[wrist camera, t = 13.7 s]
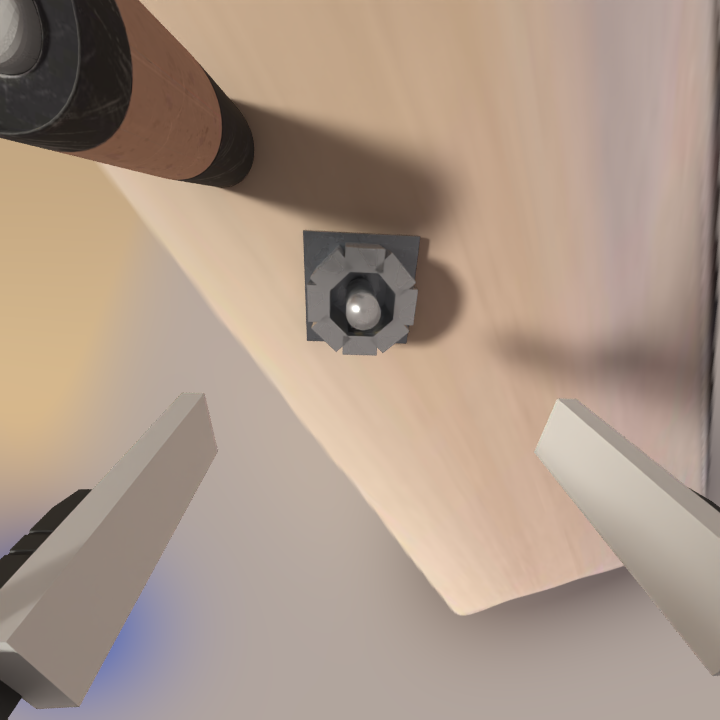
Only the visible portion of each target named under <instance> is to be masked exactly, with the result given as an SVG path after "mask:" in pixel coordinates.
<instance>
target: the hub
mask: <svg viewBox="0 0 720 720" xmlns="http://www.w3.org/2000/svg"><path fill="white" fill-rule="evenodd" d="M349 272H364V273H378V274H379V275H380V276H381V277H382V278H383V279H384V281H385V282H386V283H387V290H386V301H385V304H384V305H383V306H382V307H381V308H380V310H381V316H380V319H379V321H378V323H377V324H376V325H375V326H374V327H372V328H371V329H368V330H359V329H356V328H354V327H353V326H351V325H350V323H349V322H348V320H347V317H346V315H345V314H344V313H343V312H342V311H341V310H340V309H339V308H338V307H337V306H336V305H335V303H334V302H333V301H332V289H333V288H334V287H335V286H336V285H337V284H338V283H339V282H340V281H341V280H342V279H343V278H344V277H345V276H346V275H347V274H348V273H349ZM415 283H416V282H415V280H414V279H413V278H412V277H411V275H410V274H409V273H408V272H407V270H406V269H405V268H404V267H403V265H402V264H401V263H400V262H399V260H398V259H397V258H396V257H395V255H394V254H393V253H392V252H391V251H389V250H388V249H387V248H385V247H382V246H381V245H379V244H374V243H354V242H345V250H344V249H343V248H342V247H341V246H340V245H338V246H337V247H336V248H335V249H334V250H333V251H332V252H331V253H330V254H329V255H328V256H327V257H326V258H325V259H324V260H323V261H322V262H321V263H320V264H319V265H318V266H317V267H316V269H315V270H314V272H313V274H312V275H311V277H310V281H309V283H308V284H307V299H308V322H313V324H312V327H311V329H313V330H314V331H315V332H316V333H317V334H318V335H319V336H320V337H321V338H322V339H323V340H324V341H325V342H326V343H327V344H328V345H329V346H330V347H332V348H333V349H334V350H335V351H336V352H337V351H338V350H339V349H340V348H341V347H342V346H343V355H377V348H378V349H379V350H380V351H381V352H382V353H384V352H385V351H386V350H387V349H389V348H390V347H391V346H392V345H394V344H395V343H396V342H397V341H399V340H400V339H401V338H402V337H403V336H405V335H406V334H407V333H408V332H410V331H409V329H408V328H407V326H406V325H413V323H414V316H415V309H416V302H417V295H418V289H417V288H416V287H415V286H414V284H415Z"/></svg>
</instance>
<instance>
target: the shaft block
mask: <svg viewBox="0 0 720 720" xmlns="http://www.w3.org/2000/svg"><path fill="white" fill-rule="evenodd" d="M303 241H304V269H305V297H306V324H307V341H324V340H323V339H322V338H321V337H320V336H319V335H318V334H317V333H316V332H315V331H314V330H313V329H311V327H312V324H313V322H308V299H307V284H308V283H309V281H310V277H311V275H312V274H313V272H314V270H315V269H316V267H317V266H318V265H319V264H320V263H321V262H322V261H323V260H324V259H325V258H326V257H327V256H328V255H329V254H330V253H331V252H332V251H333V250H334V249H335V248H336V247H337V246H338V245H340V246H341V247H342V248H343V249H344V250H345V242H354V243H374V244H379V245H381V246H382V247H385V248H387V249H388V250H389V251H391V252H392V253H393V254H394V255H395V257H396V258H397V259H398V260H399V262H400V263H401V264H402V265H403V267H404V268H405V269H406V270H407V272H408V273H409V274H410V275H411V277H412V278H413V279H414V280H415V274H416V266H417V258H418V251H419V243H420V236H410V235H391V234H372V233H352V232H333V231H313V230H303ZM386 290H387V283H386V282H385V281H384V279H383V278H382V277H381V276H380V275H379V274H378V273H364V272H349V273H348V274H347V275H346V276H345V277H344V278H343V279H342V280H341V281H340V282H339V283H338V284H337V285H336V286H335V287H334V288H333V289H332V301H333V302H334V303H335V305H336V306H337V307H338V308H339V309H340V310H341V311H342V312H343V313H344V314H345V315H346V317H347V320H348V322H349V323H350V325H351V326H353V327H354V328H356V329H359V330H368V329H371V328H372V327H374V326H375V325H376V324H377V323H378V321H379V319H380V316H381V310H380V308H381V307H382V306H383V305H384V304H385V301H386ZM406 326H407V328H408V327H409V325H406ZM407 335H408V333H407V334H406V335H405V336H403V337H402V338H401V339H400V340H399V341H397V342H396V343H404V344H406V343H407Z"/></svg>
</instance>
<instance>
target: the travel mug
mask: <svg viewBox="0 0 720 720" xmlns="http://www.w3.org/2000/svg"><path fill="white" fill-rule="evenodd" d="M0 138H3V139H7V140H11V141H15V142H19V143H24V144H28V145H32V146H36V147H40V148H44V149H48V150H52V151H57V152H60V153H65V154H69V155H73V156H77V157H81V158H85V159H89V160H93V161H97V162H101V163H105V164H109V165H113V166H117V167H121V168H125V169H129V170H134V171H138V172H142V173H146V174H150V175H154V176H158V177H162V178H166V179H172V180H178V181H184V182H190V183H196V184H202V185H208V186H215V187H229V186H233V185H235V184H237V183H239V182H240V181H242V180H243V179H244V178H245V177H246V175H247V174H248V172H249V170H250V168H251V166H252V163H253V158H254V144H253V138H252V134H251V131H250V128H249V126H248V124H247V122H246V120H245V118H244V117H243V115H242V114H241V112H240V111H239V110H238V108H237V107H236V106H235V105H234V104H233V102H232V101H231V100H230V99H229V98H228V97H227V95H226V94H225V93H224V92H223V91H222V90H221V88H220V87H219V86H218V85H217V84H216V83H215V81H214V80H213V79H212V78H211V77H210V76H209V74H208V73H207V72H206V71H205V70H204V69H203V68H202V66H201V65H200V64H199V63H198V62H197V61H196V60H195V58H194V57H193V56H192V55H191V54H190V53H189V52H188V51H187V50H186V49H185V48H184V47H183V46H182V45H181V44H180V43H179V42H178V40H177V39H176V38H175V37H174V36H173V35H172V34H171V33H170V32H169V31H168V30H167V29H166V28H165V27H164V26H163V25H162V24H161V23H160V22H159V21H158V20H157V19H156V18H155V17H154V16H153V15H152V14H151V13H150V12H149V11H148V10H147V8H146V7H145V6H144V5H143V4H142V3H141V2H140V1H139V0H0Z"/></svg>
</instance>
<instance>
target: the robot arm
mask: <svg viewBox="0 0 720 720" xmlns="http://www.w3.org/2000/svg"><path fill="white" fill-rule="evenodd" d="M217 452H218V449H217V445H216V441H215V437H214V432H213V428H212V424H211V419H210V415H209V411H208V407H207V403H206V398H205V394H204V393H181V394H180V396H178V398H177V399H176V400H175V401H174V402H173V403H172V404H171V405H170V406H169V407H168V409H167V410H165V412H164V413H163V414H162V415H161V416H160V417H159V418H158V419H157V420H156V421H155V423H154V424H153V425H152V426H151V427H150V428H149V429H148V430H147V431H146V432H145V433H144V434H143V435H142V436H141V438H140V439H139V440H138V441H137V442H136V443H135V444H134V445H133V446H132V447H131V448H130V450H129V451H128V452H127V453H126V454H125V455H124V456H123V457H122V458H121V459H120V460H119V461H118V462H117V463H116V465H115V466H114V467H113V468H112V469H111V470H110V471H109V472H108V473H107V474H106V475H105V476H104V478H103V479H102V480H101V481H100V482H99V483H98V484H97V485H96V486H95V487H94V488H93V489H90V490H89V489H81V490H78V491H76V492H75V493H74V494H72V495H70V496H69V497H68V498H66V499H65V500H63V501H62V502H60V503H59V504H57V505H56V506H54V507H53V508H52V509H51V510H50V511H49V512H48V513H47V514H46V515H45V516H44V517H43V518H42V519H41V520H40V521H39V522H38V523H37V524H36V525H35V526H34V527H33V528H31V530H30V533H29V534H28V535H24V536H23V537H22V538H21V539H20V541H18V543H16V544H15V546H13V547H12V549H10V553H9V554H8V555H4V556H3V558H1V559H0V720H8V717H9V716H10V714H11V713H12V711H13V710H14V708H15V707H16V705H17V704H18V702H19V701H20V699H21V698H23V699H24V700H25V701H26V702H28V703H29V704H30V705H32V706H33V707H35V708H36V709H44V708H63V707H79V706H80V704H81V703H82V701H83V698H84V697H85V695H86V693H87V692H88V690H89V688H90V686H91V684H92V682H93V680H94V679H95V677H96V675H97V673H98V671H99V669H100V667H101V666H102V664H103V662H104V660H105V658H106V656H107V655H108V653H109V651H110V649H111V647H112V645H113V644H114V642H115V640H116V638H117V636H118V634H119V633H120V631H121V629H122V627H123V625H124V623H125V622H126V620H127V618H128V616H129V614H130V612H131V610H132V609H133V607H134V605H135V603H136V601H137V599H138V598H139V596H140V594H141V592H142V590H143V588H144V586H145V585H146V583H147V581H148V579H149V577H150V575H151V574H152V572H153V570H154V568H155V566H156V564H157V563H158V561H159V559H160V557H161V555H162V553H163V551H164V549H165V548H166V546H167V544H168V542H169V540H170V538H171V537H172V535H173V533H174V531H175V529H176V528H177V525H178V524H179V522H180V520H181V518H182V516H183V514H184V513H185V511H186V509H187V507H188V505H189V503H190V502H191V500H192V498H193V496H194V494H195V492H196V491H197V489H198V487H199V485H200V483H201V481H202V480H203V478H204V476H205V474H206V472H207V470H208V468H209V467H210V465H211V463H212V461H213V459H214V457H215V456H216V454H217ZM534 453H535V454H536V455H537V456H538V458H539V459H540V460H541V461H542V463H543V464H544V465H545V467H546V468H547V469H548V470H549V472H550V473H551V474H552V475H553V477H554V478H555V479H556V480H557V482H558V483H559V484H560V485H561V487H562V488H563V489H564V490H565V492H566V493H567V494H568V495H569V497H570V498H571V499H572V500H573V502H574V503H575V504H576V505H577V507H578V508H579V509H580V510H581V512H582V513H583V514H584V515H585V517H586V518H587V519H588V520H589V522H590V523H591V524H592V526H593V527H594V528H595V529H596V531H597V532H598V533H599V534H600V536H601V537H602V538H603V539H604V541H605V542H606V543H607V544H608V546H609V547H610V548H611V549H612V551H613V552H614V553H615V554H616V556H617V557H618V558H619V559H620V561H621V562H622V563H623V564H624V566H625V567H626V568H627V569H628V570H629V572H630V573H631V574H632V576H633V577H634V578H635V579H636V581H637V582H638V583H639V584H640V586H641V587H642V588H643V589H644V591H645V592H646V593H647V595H648V596H649V597H650V598H651V600H652V601H653V602H654V603H655V604H656V606H657V607H658V608H659V610H660V611H661V612H662V613H663V615H664V616H665V617H666V618H667V620H668V621H669V622H670V623H671V625H672V626H673V627H674V628H675V630H676V631H677V632H678V633H679V635H680V636H681V637H682V638H683V640H684V641H685V642H686V643H687V645H688V646H689V647H690V648H691V650H692V651H693V652H694V654H695V655H696V656H697V657H698V659H699V660H700V661H701V662H702V664H703V665H704V666H705V667H706V669H707V670H708V671H709V672H710V674H711V675H712V676H716V675H717V676H718V675H720V507H718V506H717V505H716V504H714V503H713V502H712V501H710V500H709V499H707V498H705V497H704V496H702V495H700V494H698V493H697V492H695V491H693V490H692V489H690V488H688V487H687V486H685V485H684V484H683V483H682V482H680V481H679V480H678V479H677V478H675V477H674V476H673V475H672V474H670V473H669V472H668V471H667V470H665V469H664V468H663V467H662V466H660V465H659V464H658V463H656V462H655V461H654V460H653V459H651V458H650V457H649V456H648V455H646V454H645V453H644V452H643V451H641V450H640V449H639V448H638V447H636V446H635V445H634V444H633V443H631V442H630V441H629V440H628V439H626V438H625V437H624V436H622V435H621V434H620V433H619V432H617V431H616V430H615V429H614V428H612V427H611V426H610V425H609V424H607V423H606V422H605V421H604V420H602V419H601V418H600V417H599V416H597V415H596V414H595V413H593V412H592V411H591V410H590V409H588V408H587V407H586V406H585V405H583V404H582V403H581V402H580V401H578V400H577V399H557V401H556V403H555V405H554V408H553V410H552V412H551V414H550V417H549V419H548V421H547V424H546V426H545V428H544V431H543V433H542V435H541V438H540V440H539V442H538V445H537V447H536V449H535V451H534Z"/></svg>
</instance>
